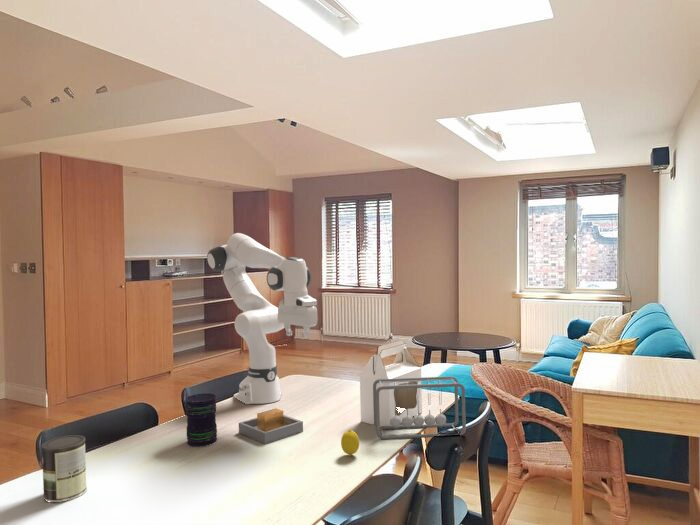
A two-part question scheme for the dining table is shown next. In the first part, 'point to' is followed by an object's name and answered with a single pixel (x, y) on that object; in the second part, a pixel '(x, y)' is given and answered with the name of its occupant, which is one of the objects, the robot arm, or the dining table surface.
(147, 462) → the dining table surface
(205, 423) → the black ridged cylinder
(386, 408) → the gable box
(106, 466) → the dining table surface
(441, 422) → the newton's cradle
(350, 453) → the lemon
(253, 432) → the grey tray
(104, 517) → the dining table surface
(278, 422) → the wooden block
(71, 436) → the coffee can
